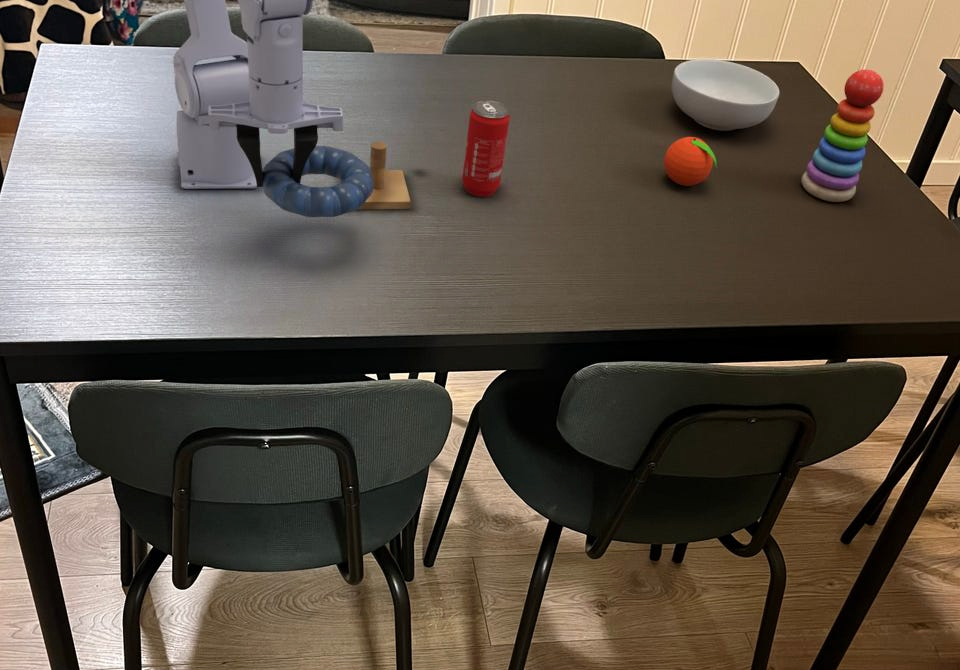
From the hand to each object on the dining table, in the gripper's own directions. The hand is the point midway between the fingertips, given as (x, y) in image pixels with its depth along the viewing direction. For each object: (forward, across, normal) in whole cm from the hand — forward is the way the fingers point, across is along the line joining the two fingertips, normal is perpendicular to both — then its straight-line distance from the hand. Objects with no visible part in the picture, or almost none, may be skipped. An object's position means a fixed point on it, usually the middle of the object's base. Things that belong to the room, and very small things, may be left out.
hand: (277, 182), depth 112 cm
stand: (+8, +13, +11) cm, 19 cm away
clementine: (+8, +59, +13) cm, 61 cm away
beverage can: (+8, +28, +12) cm, 31 cm away
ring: (0, +5, 0) cm, 5 cm away
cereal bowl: (+8, +72, +33) cm, 79 cm away
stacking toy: (+8, +81, +11) cm, 82 cm away
